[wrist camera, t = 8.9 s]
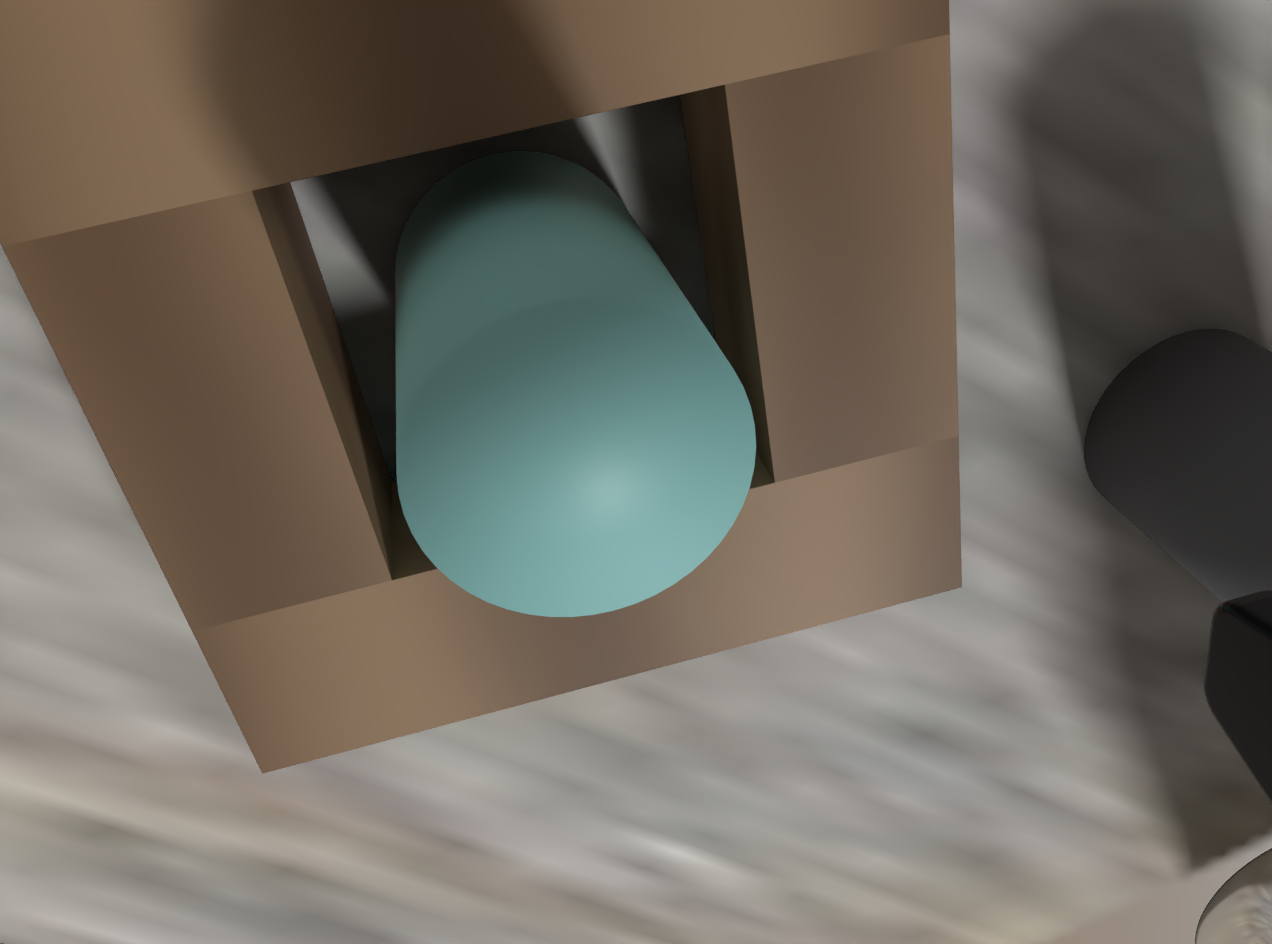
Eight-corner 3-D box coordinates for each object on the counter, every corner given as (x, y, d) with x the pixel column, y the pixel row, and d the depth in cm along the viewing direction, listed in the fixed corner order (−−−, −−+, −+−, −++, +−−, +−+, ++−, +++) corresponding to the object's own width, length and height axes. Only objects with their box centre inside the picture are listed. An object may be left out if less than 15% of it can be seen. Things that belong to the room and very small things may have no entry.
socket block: (849, -224, 15) (943, -242, 12) (892, 498, 21) (961, 587, 19) (-36, -45, 14) (-131, -23, 12) (279, 657, 20) (262, 773, 18)
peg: (619, 124, 17) (732, 257, 11) (660, 358, 19) (773, 569, 13) (362, 183, 16) (348, 349, 11) (432, 413, 18) (451, 653, 13)
